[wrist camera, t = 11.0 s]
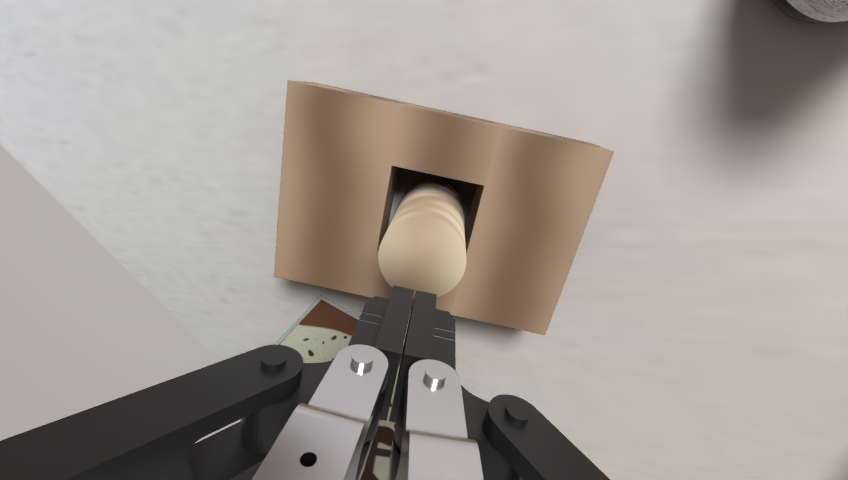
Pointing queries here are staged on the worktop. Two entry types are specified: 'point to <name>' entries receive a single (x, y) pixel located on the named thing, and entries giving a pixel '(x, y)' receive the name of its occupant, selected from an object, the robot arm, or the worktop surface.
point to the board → (443, 156)
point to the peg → (425, 240)
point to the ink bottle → (816, 10)
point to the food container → (321, 342)
